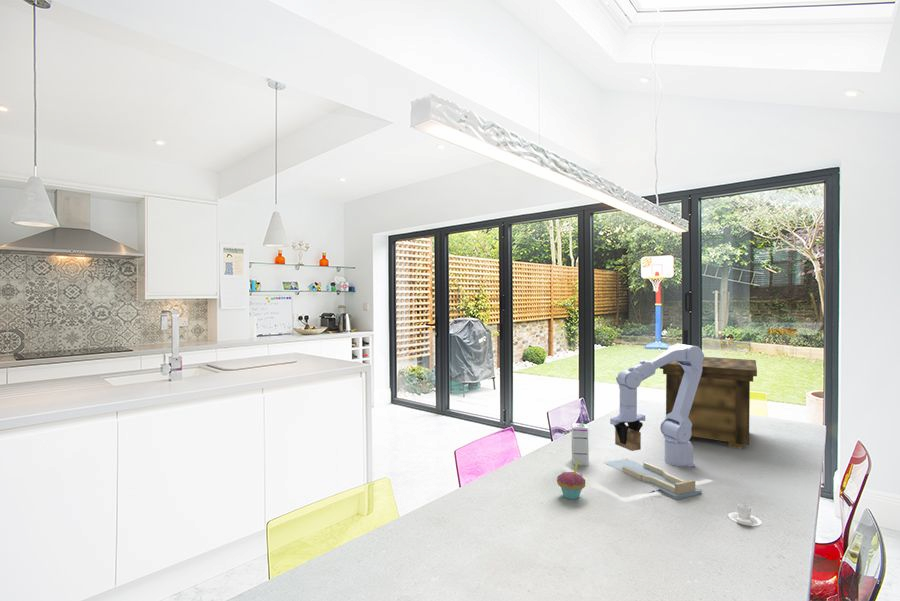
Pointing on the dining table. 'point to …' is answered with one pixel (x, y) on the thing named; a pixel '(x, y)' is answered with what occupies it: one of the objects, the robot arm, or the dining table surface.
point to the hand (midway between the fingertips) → (627, 442)
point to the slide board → (657, 478)
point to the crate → (717, 398)
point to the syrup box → (580, 444)
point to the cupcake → (571, 483)
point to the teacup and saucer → (744, 516)
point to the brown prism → (630, 440)
